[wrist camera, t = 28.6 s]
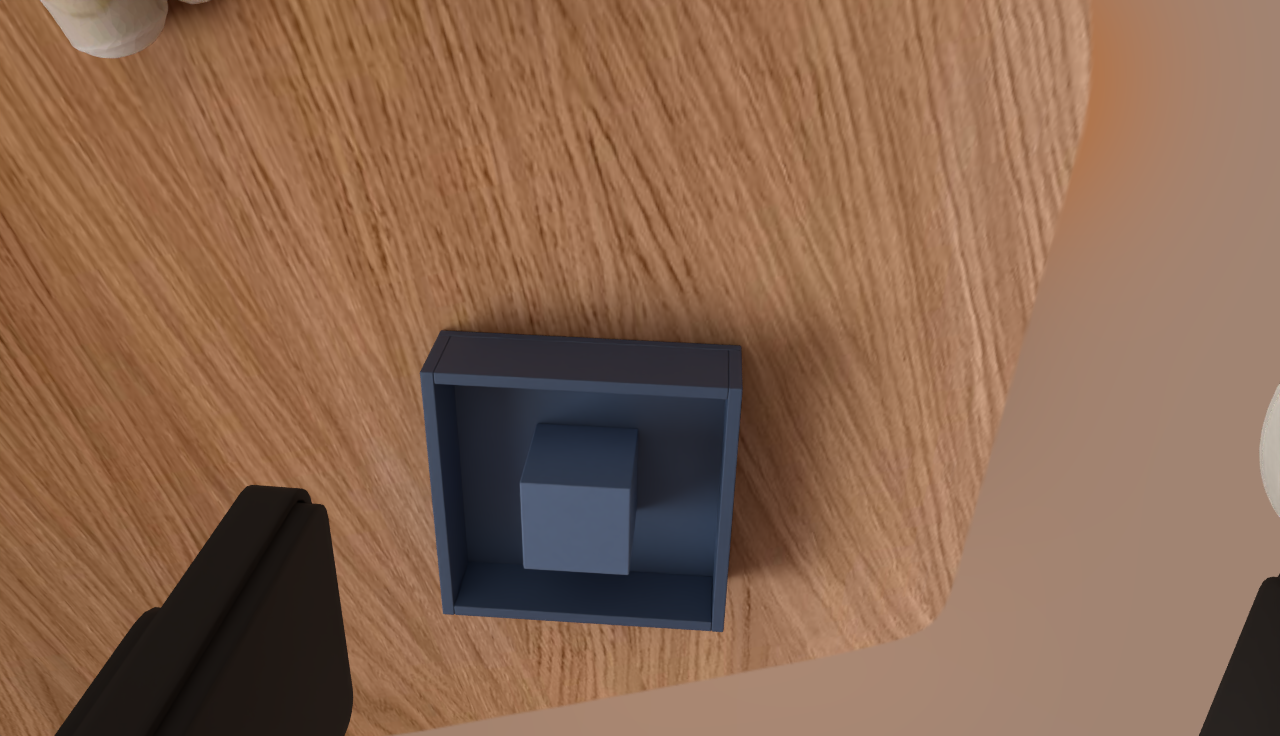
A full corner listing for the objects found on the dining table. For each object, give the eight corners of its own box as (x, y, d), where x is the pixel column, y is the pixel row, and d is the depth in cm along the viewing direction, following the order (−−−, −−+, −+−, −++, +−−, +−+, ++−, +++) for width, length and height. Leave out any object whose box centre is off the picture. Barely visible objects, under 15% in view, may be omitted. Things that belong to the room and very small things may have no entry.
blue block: (638, 428, 52) (630, 489, 47) (636, 510, 54) (629, 575, 50) (536, 422, 52) (519, 483, 48) (539, 504, 55) (522, 569, 50)
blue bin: (741, 345, 50) (742, 389, 46) (723, 579, 57) (723, 632, 53) (440, 329, 50) (419, 372, 47) (459, 562, 58) (442, 614, 54)
